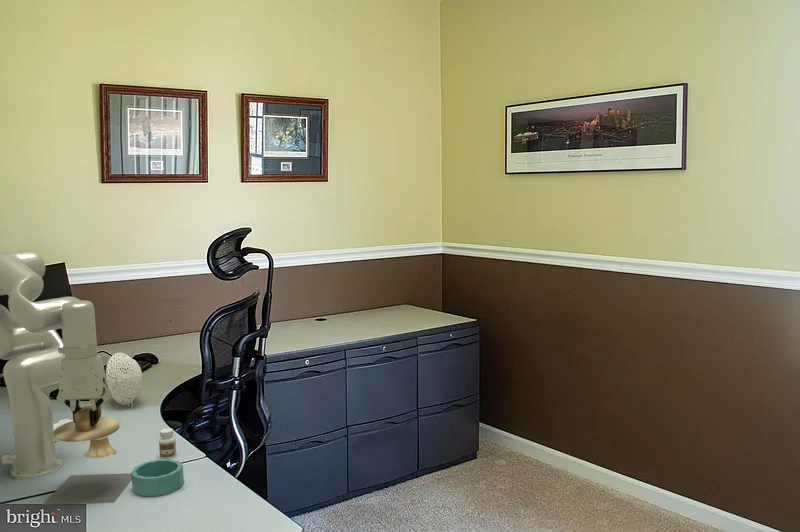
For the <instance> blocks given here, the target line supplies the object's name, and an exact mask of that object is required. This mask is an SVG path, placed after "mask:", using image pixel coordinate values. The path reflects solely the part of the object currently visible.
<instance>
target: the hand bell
mask: <svg viewBox="0 0 800 532" xmlns="http://www.w3.org/2000/svg"><path fill="white" fill-rule="evenodd" d="M98 410H99V417H102V408H101V405H100V406H99V407H98ZM116 453H117V450H116V449H115V448H114V447H113V446H112V445H111V443H110V441H109V435H108V436H105V437H102V438H98V439H94V440H89V447H88V449H87V451H86V452H85V453H84V456H85V458H88V459H100V458H105V457H109V456H111V455H116Z"/></svg>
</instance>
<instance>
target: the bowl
mask: <svg viewBox="0 0 800 532" xmlns="http://www.w3.org/2000/svg"><path fill="white" fill-rule="evenodd" d="M130 473H131V477H132V480H131V488H132V491H133V492H134V494H135V495H139V496H142V497H159V496H163V495H164V496H165V495H168V494H171V493H174V492H176V491H177V490H179V489H180V488H182V487H183V484H184V482H185V481H184V479H185V477H184V465H183V464H182V463H181V461H180V460H175V459H172V458H169V459H162V458H161V459H155V460H149V461H145V462H143V463H140V464H138V465H136V466H135V467H134V468H133V469H132V470H131V471H130Z"/></svg>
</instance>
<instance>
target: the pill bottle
mask: <svg viewBox="0 0 800 532" xmlns="http://www.w3.org/2000/svg"><path fill="white" fill-rule="evenodd" d="M159 436H160V437H159V439H158V446H159V447H158V448H159V458H160V459H161V460H162V459H173V458H175V457H176V456H177V444H176V441H177V440H176V437H175V436H174V429H173V428H170V427H169V428H168V427H167V428H162V429H161V430H160V431H159Z"/></svg>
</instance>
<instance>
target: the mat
mask: <svg viewBox="0 0 800 532" xmlns="http://www.w3.org/2000/svg"><path fill="white" fill-rule="evenodd" d="M130 483H132V477H131V472H128V473H103V474H98V473H97V474H95V473H94V474H73V475H71V474H70V476H69V477H67V478H66V480H65V481H64V482H63V483H62V484H60V486H59V487H58V488H56V490H55V491H53V493H51V495H49V497H48V498H46V500H45V501H44V502H43V503H42V504H41V505H42V506H49V505H51V506H53V505H56V506H57V505H81V504H107V503H109V504H110V503H111V504H112V503H115V502H116V501H117V500H118V498H119V497H120V496H121V494H123V492H124V491H125V489H126V488H127V487H128V485H130Z"/></svg>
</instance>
